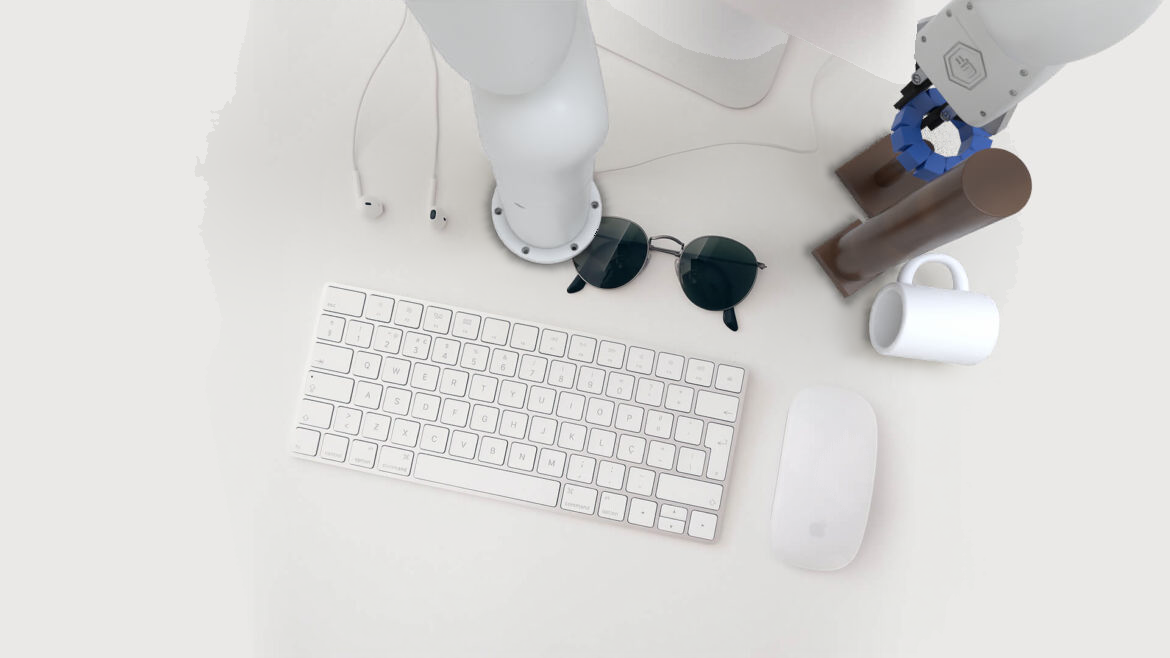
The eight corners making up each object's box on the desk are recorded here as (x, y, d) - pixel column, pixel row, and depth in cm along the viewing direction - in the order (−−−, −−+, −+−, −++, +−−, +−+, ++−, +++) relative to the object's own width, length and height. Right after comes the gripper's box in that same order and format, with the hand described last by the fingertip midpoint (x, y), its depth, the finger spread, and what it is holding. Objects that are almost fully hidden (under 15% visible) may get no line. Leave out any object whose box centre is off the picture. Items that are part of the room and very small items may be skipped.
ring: (872, 130, 63) (882, 121, 61) (938, 80, 65) (950, 69, 63) (931, 200, 63) (944, 193, 61) (997, 148, 64) (1011, 140, 62)
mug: (951, 368, 72) (999, 362, 64) (866, 357, 72) (903, 350, 64) (955, 266, 74) (1003, 249, 66) (872, 256, 73) (909, 237, 66)
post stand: (834, 171, 75) (871, 139, 66) (886, 136, 75) (929, 99, 67) (875, 226, 74) (918, 200, 65) (927, 189, 75) (976, 159, 66)
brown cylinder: (810, 252, 73) (938, 170, 48) (854, 221, 74) (1002, 125, 49) (844, 298, 73) (991, 239, 48) (888, 267, 73) (1056, 193, 49)
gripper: (947, -65, 46) (838, 70, 64) (1087, 107, 45) (935, 195, 63) (1024, -115, 47) (895, 32, 65) (1164, 53, 45) (991, 155, 64)
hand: (915, 112), depth 64 cm, fingers closed on ring, 2 cm apart
